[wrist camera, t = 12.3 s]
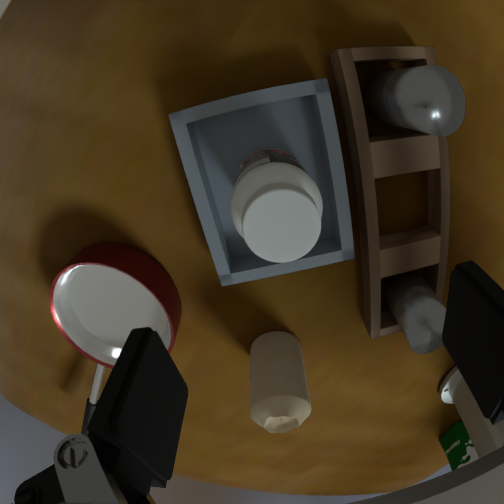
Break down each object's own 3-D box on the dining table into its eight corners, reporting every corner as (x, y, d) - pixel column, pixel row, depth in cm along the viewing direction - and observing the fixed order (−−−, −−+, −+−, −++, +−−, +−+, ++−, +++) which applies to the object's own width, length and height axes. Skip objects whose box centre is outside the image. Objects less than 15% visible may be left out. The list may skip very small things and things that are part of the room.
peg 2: (419, 260, 28) (458, 307, 21) (417, 295, 30) (450, 345, 23) (380, 270, 28) (413, 322, 21) (380, 305, 30) (408, 359, 23)
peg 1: (404, 71, 20) (459, 66, 13) (412, 121, 22) (468, 133, 15) (356, 74, 20) (401, 65, 13) (366, 126, 22) (413, 139, 15)
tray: (317, 81, 21) (326, 78, 18) (345, 242, 27) (354, 258, 24) (178, 113, 22) (168, 114, 19) (224, 268, 28) (222, 286, 25)
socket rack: (418, 50, 19) (433, 47, 17) (430, 304, 30) (439, 318, 28) (329, 54, 20) (337, 49, 18) (364, 323, 31) (370, 338, 29)
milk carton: (461, 435, 49) (487, 502, 31) (433, 443, 48) (457, 516, 30) (482, 412, 45) (514, 483, 27) (453, 420, 44) (484, 500, 27)
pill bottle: (318, 182, 24) (355, 230, 15) (268, 226, 26) (277, 293, 17) (271, 132, 22) (285, 151, 14) (221, 180, 24) (203, 227, 15)
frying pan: (148, 428, 42) (141, 460, 36) (73, 400, 40) (60, 430, 34) (197, 266, 28) (185, 309, 23) (72, 222, 26) (36, 252, 20)
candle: (258, 325, 31) (260, 405, 22) (308, 335, 32) (324, 412, 23) (244, 360, 34) (242, 436, 25) (290, 368, 34) (298, 442, 25)
